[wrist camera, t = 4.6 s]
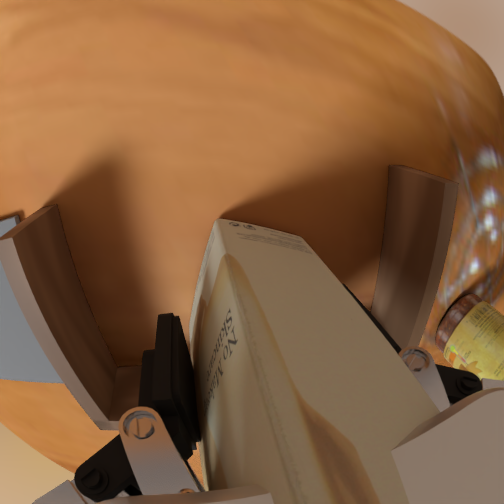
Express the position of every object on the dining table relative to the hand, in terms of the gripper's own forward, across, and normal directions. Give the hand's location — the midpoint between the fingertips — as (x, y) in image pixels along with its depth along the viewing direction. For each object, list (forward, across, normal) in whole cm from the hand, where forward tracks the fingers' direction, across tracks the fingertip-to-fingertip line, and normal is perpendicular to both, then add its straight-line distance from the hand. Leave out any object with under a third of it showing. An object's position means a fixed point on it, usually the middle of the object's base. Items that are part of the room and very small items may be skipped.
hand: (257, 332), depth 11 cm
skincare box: (+4, 0, 0) cm, 4 cm away
